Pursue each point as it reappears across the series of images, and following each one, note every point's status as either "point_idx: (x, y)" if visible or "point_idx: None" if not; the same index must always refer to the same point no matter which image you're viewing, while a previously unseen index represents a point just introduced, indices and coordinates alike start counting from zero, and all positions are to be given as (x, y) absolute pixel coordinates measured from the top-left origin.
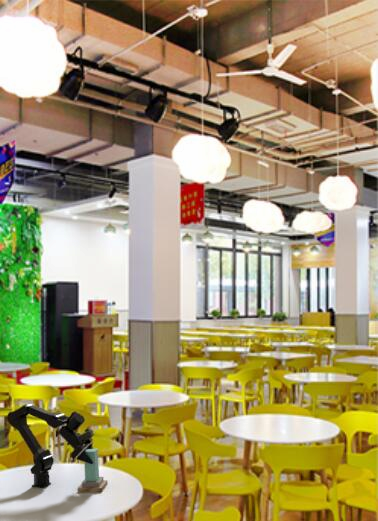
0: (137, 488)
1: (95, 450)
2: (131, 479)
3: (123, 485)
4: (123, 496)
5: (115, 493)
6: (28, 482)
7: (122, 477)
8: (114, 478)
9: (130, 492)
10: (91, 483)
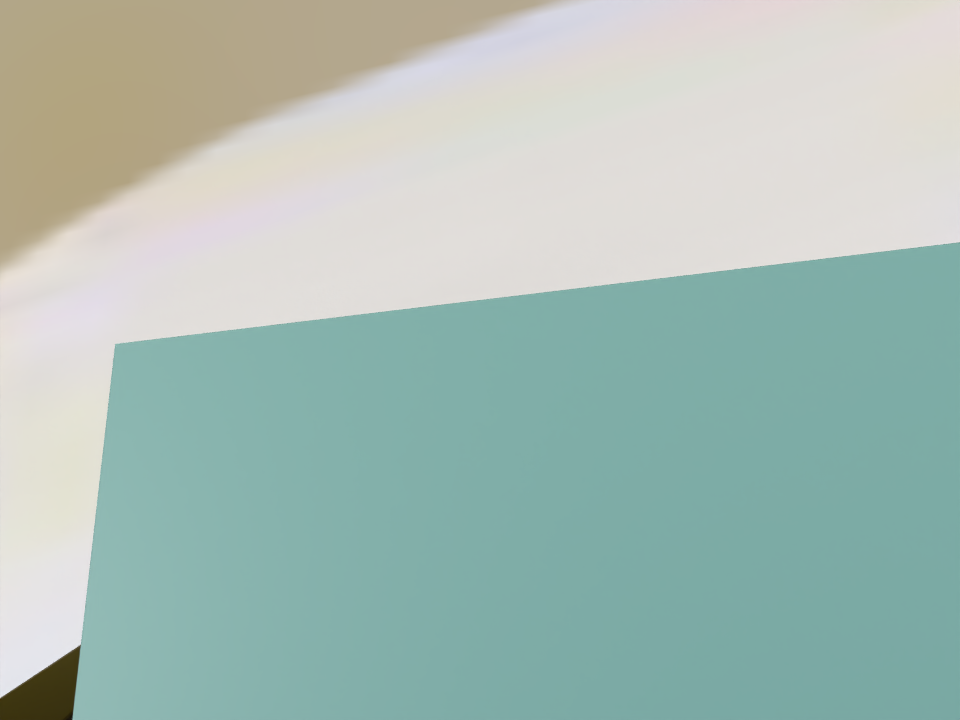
0: (540, 24)
1: (741, 280)
2: (126, 229)
3: (413, 243)
4: (931, 71)
5: (822, 225)
6: None
7: (3, 394)
8: (34, 511)
9: (729, 47)
10: None
